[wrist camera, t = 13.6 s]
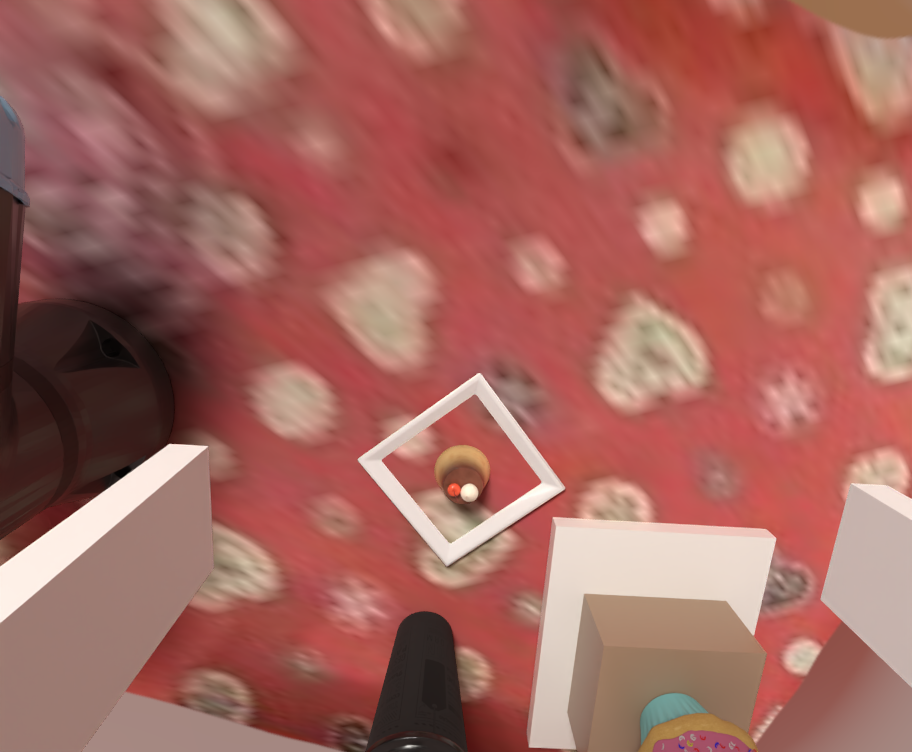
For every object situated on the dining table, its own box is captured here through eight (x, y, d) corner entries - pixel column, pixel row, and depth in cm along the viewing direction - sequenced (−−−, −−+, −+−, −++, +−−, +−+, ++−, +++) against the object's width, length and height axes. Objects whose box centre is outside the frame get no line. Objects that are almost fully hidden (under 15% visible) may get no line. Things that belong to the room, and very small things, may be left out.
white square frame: (358, 454, 44) (348, 479, 39) (479, 368, 43) (482, 384, 38) (446, 559, 47) (446, 595, 42) (563, 482, 45) (576, 510, 40)
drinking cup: (366, 614, 47) (308, 876, 28) (448, 584, 46) (447, 831, 27) (401, 682, 49) (370, 973, 29) (480, 654, 48) (502, 933, 29)
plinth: (526, 732, 50) (539, 815, 43) (552, 517, 45) (572, 570, 38) (718, 741, 51) (763, 824, 44) (765, 528, 46) (826, 583, 38)
